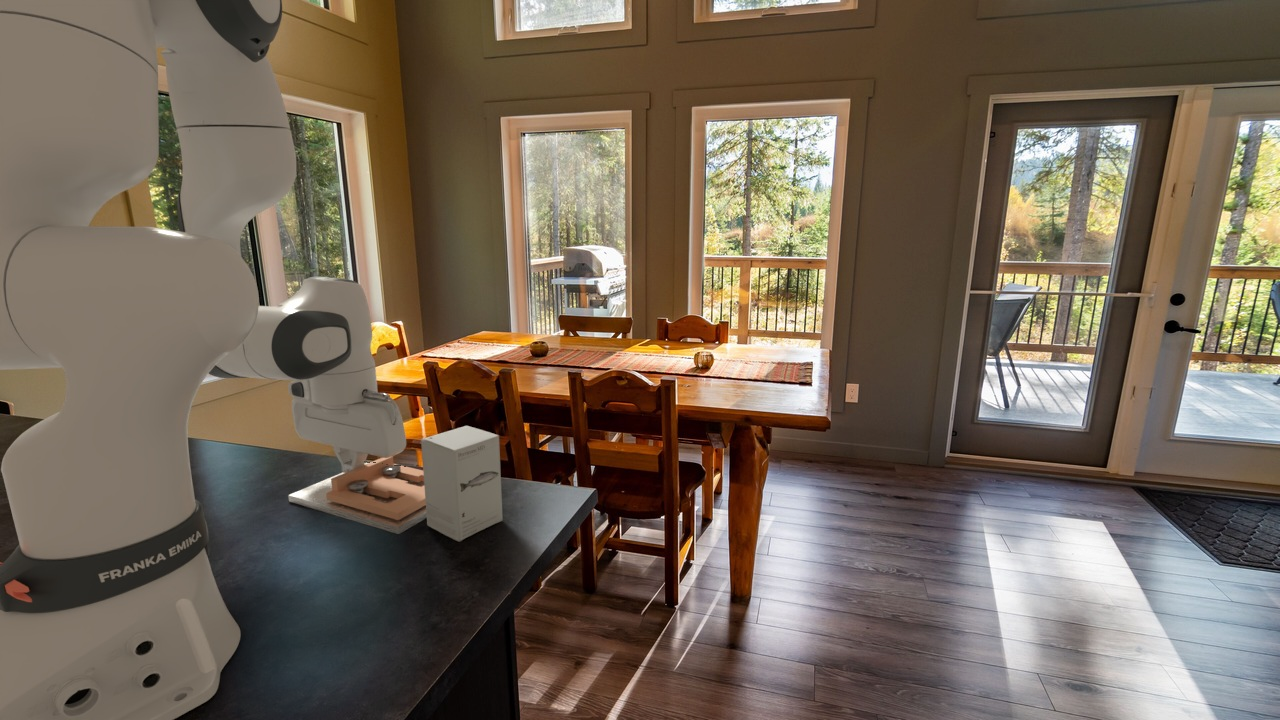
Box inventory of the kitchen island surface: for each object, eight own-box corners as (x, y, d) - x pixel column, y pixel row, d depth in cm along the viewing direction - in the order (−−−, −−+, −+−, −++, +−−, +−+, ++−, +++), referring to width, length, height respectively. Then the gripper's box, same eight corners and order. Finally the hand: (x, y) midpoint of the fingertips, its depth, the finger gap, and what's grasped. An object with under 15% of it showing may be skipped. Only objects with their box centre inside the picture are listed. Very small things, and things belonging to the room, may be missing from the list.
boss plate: (398, 534, 75) (396, 511, 74) (289, 501, 84) (286, 481, 83) (471, 491, 87) (470, 472, 86) (369, 467, 96) (367, 449, 95)
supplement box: (459, 543, 72) (452, 450, 70) (425, 526, 77) (418, 437, 74) (505, 521, 78) (500, 434, 76) (471, 506, 83) (466, 423, 80)
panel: (398, 520, 76) (396, 500, 75) (326, 499, 81) (324, 481, 81) (461, 485, 86) (460, 468, 86) (394, 469, 92) (392, 453, 91)
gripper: (412, 389, 83) (419, 478, 86) (318, 374, 91) (328, 455, 94) (376, 400, 77) (385, 494, 80) (279, 383, 86) (291, 469, 89)
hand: (353, 473), depth 87 cm, fingers closed
